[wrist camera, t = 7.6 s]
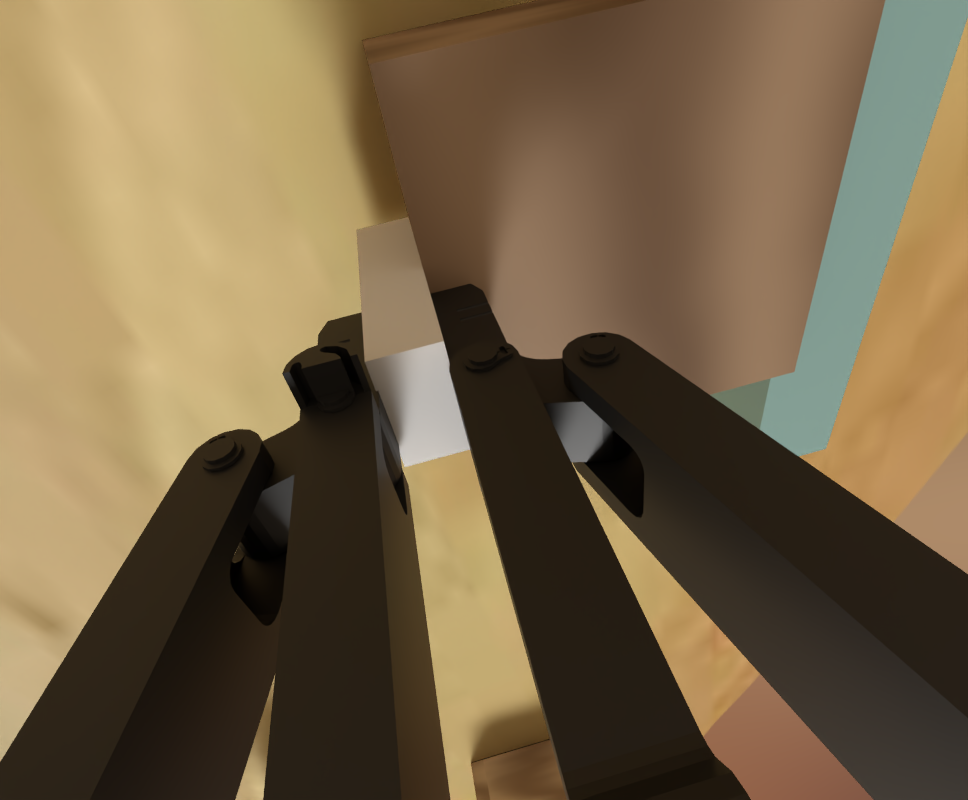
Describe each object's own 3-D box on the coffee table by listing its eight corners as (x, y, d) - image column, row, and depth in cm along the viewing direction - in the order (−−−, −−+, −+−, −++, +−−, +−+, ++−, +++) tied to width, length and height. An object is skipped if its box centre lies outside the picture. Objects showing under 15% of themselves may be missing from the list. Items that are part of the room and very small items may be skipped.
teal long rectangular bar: (697, 404, 23) (751, 469, 20) (778, -349, 11) (952, -483, 8) (762, 387, 24) (825, 448, 20) (917, -377, 11) (1143, -519, 8)
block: (447, 364, 20) (473, 459, 16) (361, 39, 13) (368, 63, 9) (707, 296, 20) (794, 372, 16) (744, -47, 14) (899, -58, 10)
